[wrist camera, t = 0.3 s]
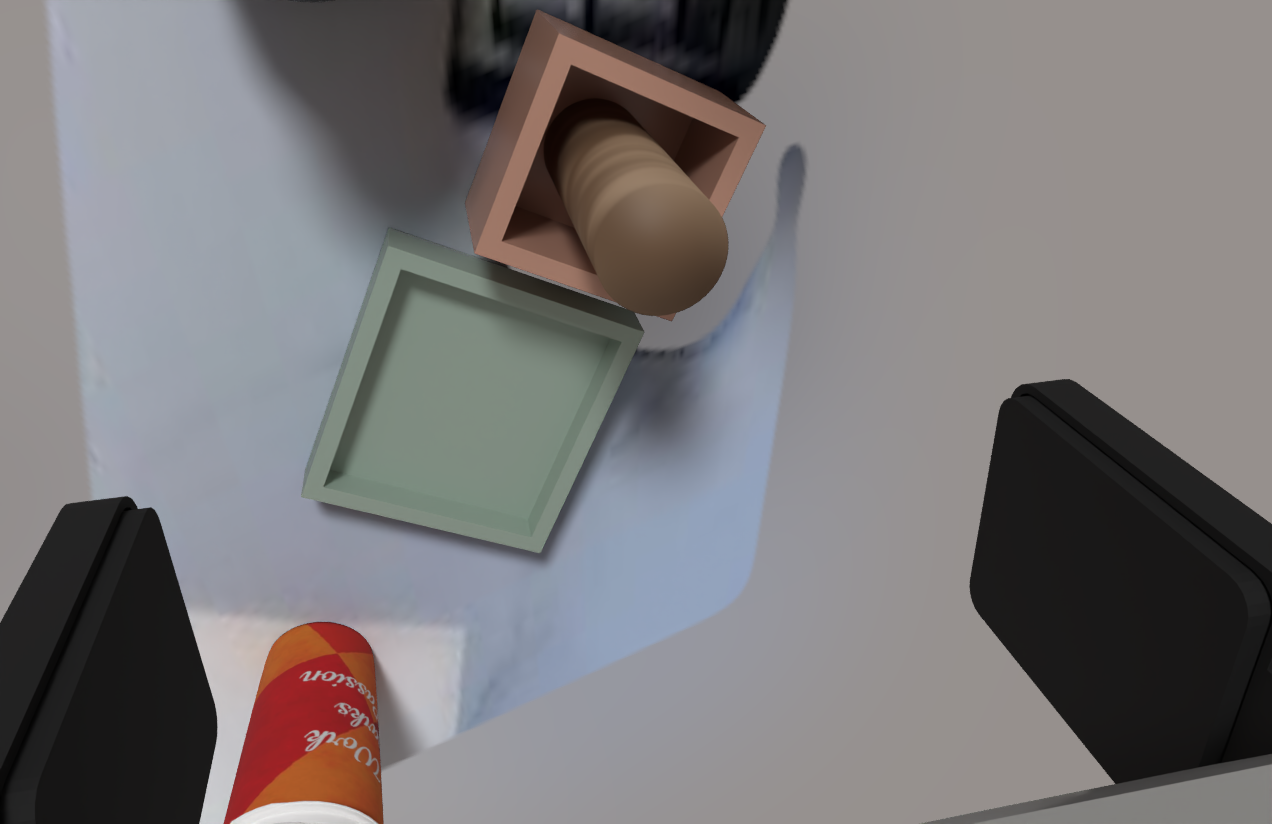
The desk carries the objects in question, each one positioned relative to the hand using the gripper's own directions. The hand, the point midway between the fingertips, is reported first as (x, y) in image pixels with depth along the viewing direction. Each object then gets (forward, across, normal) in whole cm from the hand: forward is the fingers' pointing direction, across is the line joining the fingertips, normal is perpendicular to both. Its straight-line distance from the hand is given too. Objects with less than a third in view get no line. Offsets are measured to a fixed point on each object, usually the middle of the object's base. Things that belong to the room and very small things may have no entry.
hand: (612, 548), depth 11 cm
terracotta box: (+34, -6, +4) cm, 35 cm away
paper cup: (+35, +10, +30) cm, 48 cm away
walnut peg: (+34, -6, +4) cm, 34 cm away
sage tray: (+35, +1, +15) cm, 38 cm away
